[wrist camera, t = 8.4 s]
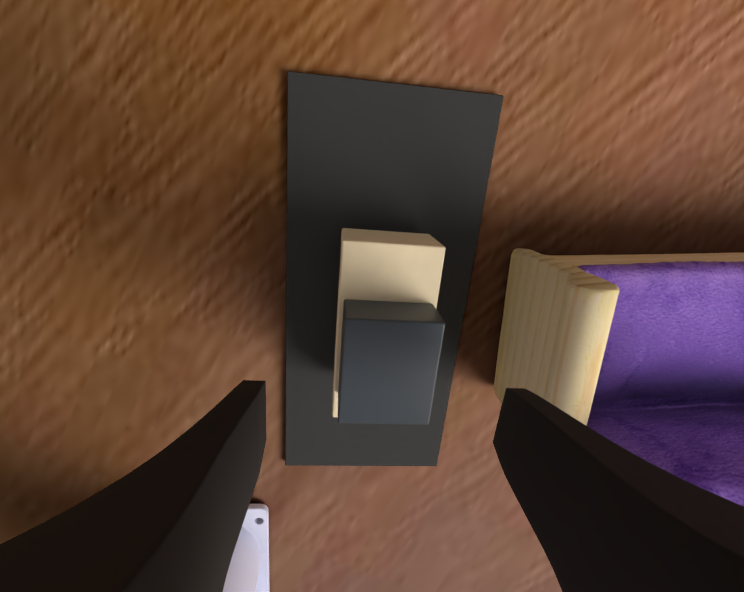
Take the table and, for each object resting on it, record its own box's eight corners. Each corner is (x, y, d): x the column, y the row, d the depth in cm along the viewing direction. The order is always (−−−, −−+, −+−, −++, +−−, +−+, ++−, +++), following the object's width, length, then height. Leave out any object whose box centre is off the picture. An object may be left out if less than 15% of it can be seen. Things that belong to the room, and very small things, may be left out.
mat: (435, 462, 22) (436, 466, 22) (286, 461, 22) (285, 465, 21) (501, 96, 16) (503, 95, 15) (288, 72, 15) (287, 71, 15)
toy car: (407, 378, 20) (430, 451, 15) (333, 376, 19) (330, 451, 14) (426, 231, 17) (462, 260, 12) (341, 225, 17) (342, 252, 12)
